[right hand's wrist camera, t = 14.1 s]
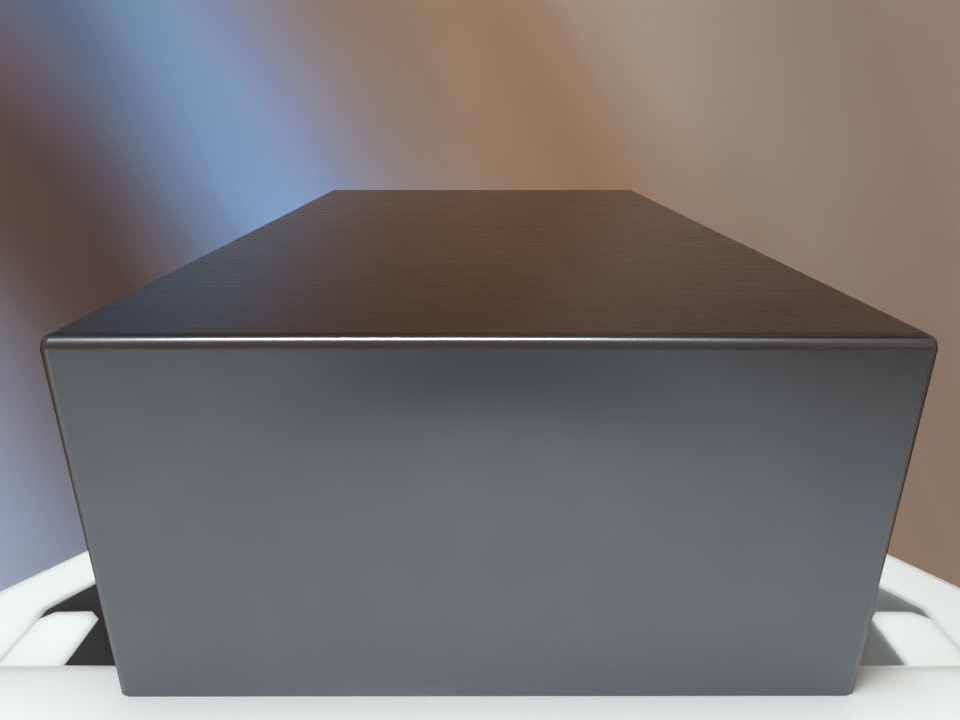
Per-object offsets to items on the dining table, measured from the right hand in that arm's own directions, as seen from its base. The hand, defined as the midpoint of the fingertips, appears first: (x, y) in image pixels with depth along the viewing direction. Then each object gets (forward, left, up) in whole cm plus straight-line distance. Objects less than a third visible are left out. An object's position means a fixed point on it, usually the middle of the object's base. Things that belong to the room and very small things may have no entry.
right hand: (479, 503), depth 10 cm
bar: (+7, +6, -3) cm, 10 cm away
